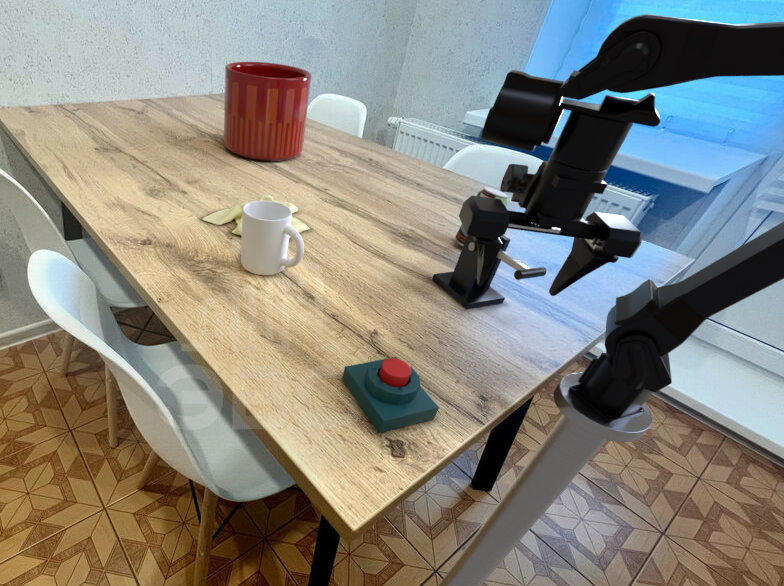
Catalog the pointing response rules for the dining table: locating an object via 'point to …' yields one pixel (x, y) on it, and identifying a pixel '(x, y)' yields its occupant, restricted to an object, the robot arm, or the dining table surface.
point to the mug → (268, 238)
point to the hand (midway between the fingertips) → (514, 289)
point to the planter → (265, 110)
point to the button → (395, 372)
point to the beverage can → (488, 193)
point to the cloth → (237, 214)
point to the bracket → (471, 278)
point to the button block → (389, 397)
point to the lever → (521, 267)
